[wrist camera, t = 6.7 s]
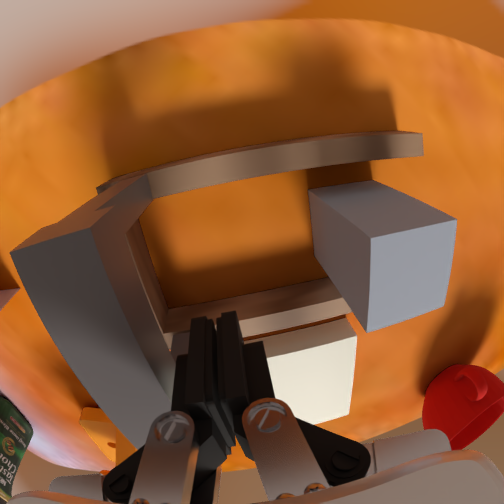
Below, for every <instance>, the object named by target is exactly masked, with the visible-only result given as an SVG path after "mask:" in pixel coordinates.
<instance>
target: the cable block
mask: <svg viewBox="0 0 504 504" xmlns="http://www.w3.org/2000/svg"><path fill="white" fill-rule="evenodd" d="M308 196H309V205H310V214H311V224H312V235H313V246H314V256H315V258H316V259H317V261H318V262H319V263H320V265H321V266H322V268H323V269H324V271H325V272H326V273H327V275H328V276H329V278H330V279H331V281H332V282H333V284H334V285H335V286H336V288H337V289H338V291H339V292H340V294H341V295H342V297H343V298H344V300H345V301H346V303H347V304H348V306H349V307H350V309H351V310H352V312H353V313H354V315H355V316H356V318H357V319H358V321H359V322H360V324H361V325H362V327H363V328H364V330H365V331H366V333H368V332H371V331H375V330H378V329H381V328H384V327H387V326H390V325H393V324H396V323H399V322H402V321H405V320H408V319H411V318H413V317H416V316H419V315H422V314H424V313H427V312H430V311H432V310H435V309H437V308H440V307H443V306H444V303H445V298H446V294H447V288H448V283H449V278H450V272H451V266H452V259H453V252H454V245H455V236H456V226H457V219H455V218H454V217H452V216H450V215H448V214H446V213H444V212H442V211H440V210H438V209H436V208H434V207H432V206H430V205H428V204H426V203H424V202H421V201H419V200H417V199H415V198H413V197H411V196H409V195H406V194H404V193H402V192H400V191H397V190H395V189H393V188H391V187H388V186H386V185H384V184H381V183H379V182H376V181H374V180H369V181H361V182H354V183H347V184H340V185H334V186H327V187H321V188H315V189H308Z"/></svg>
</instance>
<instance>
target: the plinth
mask: <svg viewBox="0 0 504 504" xmlns="http://www.w3.org/2000/svg"><path fill="white" fill-rule="evenodd" d="M258 341H263V344H264V349H265V353H266V358H267V362H268V367H269V371H270V376H271V380H272V385H273V389H274V394H275V398H276V399H279V400H282V401H284V402H285V403H287V404H288V406H289V407H290V408H291V410H292V412H293V414H294V416H295V417H296V418H299V419H301V420H303V421H306V422H308V423H310V424H313V425H314V424H317V423H321V422H325V421H328V420H332V419H335V418H339V417H342V416H345V415H348V414H349V409H350V401H351V394H352V385H353V377H354V367H355V356H356V344H357V335H356V333H355V331H354V330H353V328H352V326H351V325H350V323H349V322H348V320H347V318H343V319H340V320H336V321H332V322H328V323H324V324H320V325H316V326H312V327H308V328H304V329H300V330H295V331H291V332H286V333H282V334H277V335H273V336H268V337H263V338H258V339H253V340H248V341H244V344H248V343H253V342H258Z"/></svg>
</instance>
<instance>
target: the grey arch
mask: <svg viewBox="0 0 504 504" xmlns="http://www.w3.org/2000/svg"><path fill="white" fill-rule="evenodd" d="M152 201H153V198H152V194H151V190H150V186H149V182H148V178H147V174H143V175H139V176H135V177H132V178H128V179H125V180H121V181H120V182H118V183H116V184H115V185H113V186H111V187H110V188H108V189H107V190H105V191H104V192H102V193H100V194H99V195H97V196H96V197H94V198H93V199H91V200H90V201H88V202H87V203H85V204H84V205H82V206H81V207H79V208H78V209H76V210H75V211H73V212H72V213H71V214H69V215H68V216H66V217H65V218H63V219H62V220H61V221H59V222H58V223H55V224H52V225H49V226H46V227H43V228H41V229H40V230H38V231H37V232H36V233H34V234H33V235H32V236H30V237H29V238H28V239H26V240H25V241H24V242H22V243H21V244H20V245H18V246H17V247H16V248H15V249H13V250H12V251H11V252H10V255H11V257H12V260H13V262H14V265H15V267H16V269H17V272H18V274H19V276H20V278H21V281H22V283H23V285H24V287H25V289H26V291H27V293H28V295H29V297H30V299H31V301H32V303H33V305H34V307H35V309H36V311H37V313H38V315H39V317H40V318H41V320H42V322H43V324H44V326H45V327H46V329H47V331H48V333H49V334H50V336H51V338H52V339H53V341H54V343H55V344H56V346H57V348H58V349H59V351H60V352H61V354H62V355H63V357H64V359H65V360H66V362H67V363H68V365H69V366H70V368H71V369H72V370H73V372H74V373H75V375H76V376H77V378H78V379H79V380H80V382H81V383H82V385H83V386H84V387H85V389H86V390H87V391H88V393H89V394H90V395H91V397H92V398H93V399H94V400H95V402H96V403H97V404H98V406H99V407H100V408H101V409H102V410H103V412H104V413H105V414H106V415H107V416H108V418H109V419H110V420H111V421H112V422H113V424H114V425H115V426H116V427H117V428H118V429H119V430H120V431H121V433H122V434H123V435H124V436H125V437H126V438H127V439H128V440H129V441H130V442H131V443H132V444H133V445H134V447H135V448H136V449H137V450H138V449H139V448H141V447H142V446H143V445H144V444H145V443H146V440H147V436H148V433H149V430H150V427H151V425H152V423H153V421H154V420H155V419H156V418H157V417H158V416H160V415H161V414H163V413H166V412H169V411H171V404H172V394H173V384H174V375H175V366H176V359H177V356H178V355H182V354H188V347H189V335H190V332H188V333H182V334H176V335H173V338H172V345H171V351H169V349H168V346H167V344H166V342H165V340H164V337H163V335H162V333H161V331H160V328H159V326H158V324H157V321H156V319H155V316H154V314H153V312H152V309H151V307H150V304H149V302H148V299H147V297H146V294H145V291H144V289H143V286H142V284H141V281H140V278H139V276H138V273H137V270H136V267H135V264H134V262H133V259H132V256H131V253H130V250H129V247H128V244H127V241H126V238H125V234H126V233H127V231H128V230H129V229H130V228H131V226H132V225H133V224H134V223H135V221H136V220H137V219H138V218H139V216H140V215H141V214H142V213H143V212H144V210H145V209H146V208H147V207H148V205H149V204H150V203H151V202H152Z"/></svg>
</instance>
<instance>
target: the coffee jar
mask: <svg viewBox="0 0 504 504" xmlns="http://www.w3.org/2000/svg"><path fill="white" fill-rule="evenodd" d="M32 435H33V429H32V427H31V426H30V424H29V423H28V422H27V421H26V420H25V418H24V417H23V416H22V415H21V414H20V413H19V411H18V410H17V409H16V408H15V407H14V406H13V405H12V404H11V403H10V402H9V401H8V400H6V399H4V398H3V397H1V396H0V504H6V503H7V502H8V500H9V499H10V498H11V497H12V496H11V491H12V485H13V481H14V477H15V475H16V472H17V470H18V467H19V464H20V462H21V460H22V458H23V455H24V453H25V451H26V449H27V447H28V445H29V443H30V440H31V438H32Z"/></svg>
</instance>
